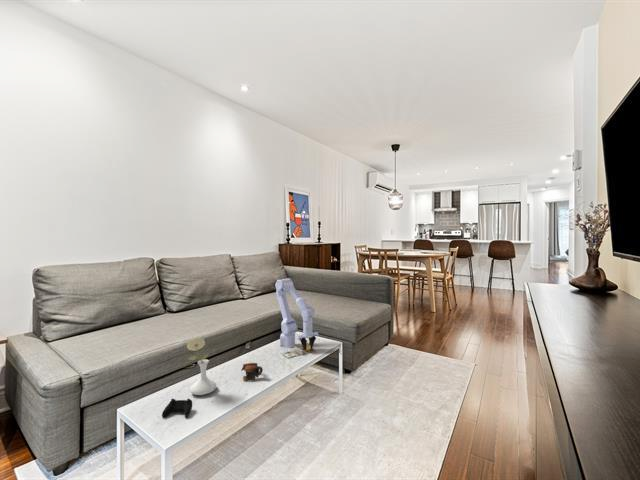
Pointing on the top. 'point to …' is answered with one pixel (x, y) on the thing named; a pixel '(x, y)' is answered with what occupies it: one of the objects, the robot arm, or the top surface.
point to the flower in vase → (203, 383)
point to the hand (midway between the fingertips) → (307, 349)
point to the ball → (308, 347)
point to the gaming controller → (178, 407)
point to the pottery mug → (251, 371)
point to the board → (297, 352)
